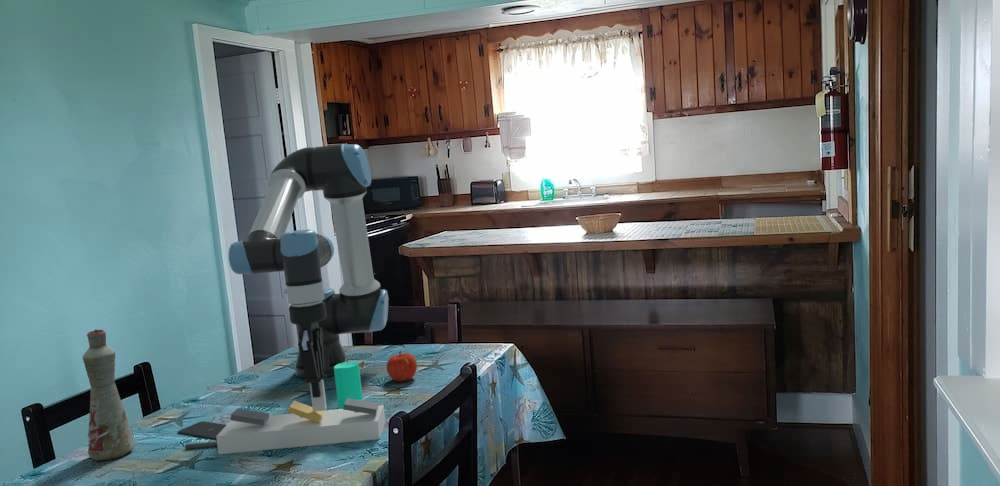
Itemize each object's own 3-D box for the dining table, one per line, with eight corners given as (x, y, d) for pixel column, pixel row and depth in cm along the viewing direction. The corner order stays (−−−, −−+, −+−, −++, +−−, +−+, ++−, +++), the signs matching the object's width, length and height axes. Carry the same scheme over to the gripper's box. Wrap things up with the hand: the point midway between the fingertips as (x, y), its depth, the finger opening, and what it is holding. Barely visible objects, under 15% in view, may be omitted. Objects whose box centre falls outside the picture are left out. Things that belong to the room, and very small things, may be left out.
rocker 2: (292, 405, 156) (294, 400, 156) (322, 416, 157) (324, 411, 157) (287, 411, 152) (289, 406, 152) (318, 423, 153) (320, 418, 153)
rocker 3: (346, 403, 157) (347, 398, 157) (378, 408, 157) (378, 403, 157) (343, 409, 153) (344, 404, 153) (375, 414, 153) (376, 409, 153)
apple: (423, 379, 191) (420, 350, 190) (396, 386, 187) (393, 357, 186) (409, 373, 198) (406, 345, 197) (383, 380, 193) (380, 351, 193)
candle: (357, 410, 171) (352, 362, 169) (334, 411, 172) (328, 362, 171) (367, 402, 177) (361, 354, 175) (344, 402, 178) (339, 355, 176)
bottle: (131, 457, 153) (112, 330, 150) (84, 466, 151) (63, 336, 147) (139, 443, 161) (121, 322, 158) (95, 451, 159) (75, 328, 156)
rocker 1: (236, 413, 156) (237, 408, 156) (268, 418, 156) (269, 413, 156) (230, 420, 152) (231, 414, 152) (263, 425, 152) (264, 420, 152)
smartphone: (201, 419, 172) (245, 426, 165) (202, 423, 172) (246, 430, 165) (175, 431, 166) (219, 438, 159) (175, 434, 166) (220, 442, 159)
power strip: (194, 440, 160) (191, 422, 160) (385, 421, 162) (383, 404, 161) (175, 458, 150) (172, 439, 150) (379, 439, 152) (377, 420, 151)
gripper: (296, 298, 158) (309, 401, 161) (280, 310, 145) (295, 422, 148) (330, 295, 158) (342, 398, 161) (317, 307, 145) (331, 418, 148)
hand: (319, 409), depth 154 cm, fingers closed
